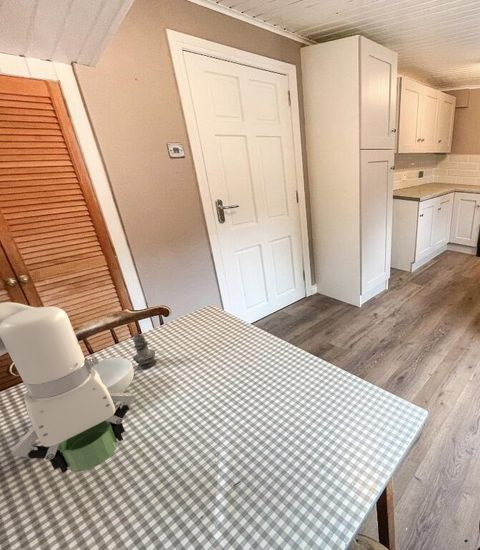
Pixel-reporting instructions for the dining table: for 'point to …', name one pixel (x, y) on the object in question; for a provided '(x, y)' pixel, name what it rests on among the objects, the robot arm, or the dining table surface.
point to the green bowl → (89, 447)
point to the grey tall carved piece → (143, 353)
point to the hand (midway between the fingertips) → (92, 450)
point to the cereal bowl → (115, 373)
